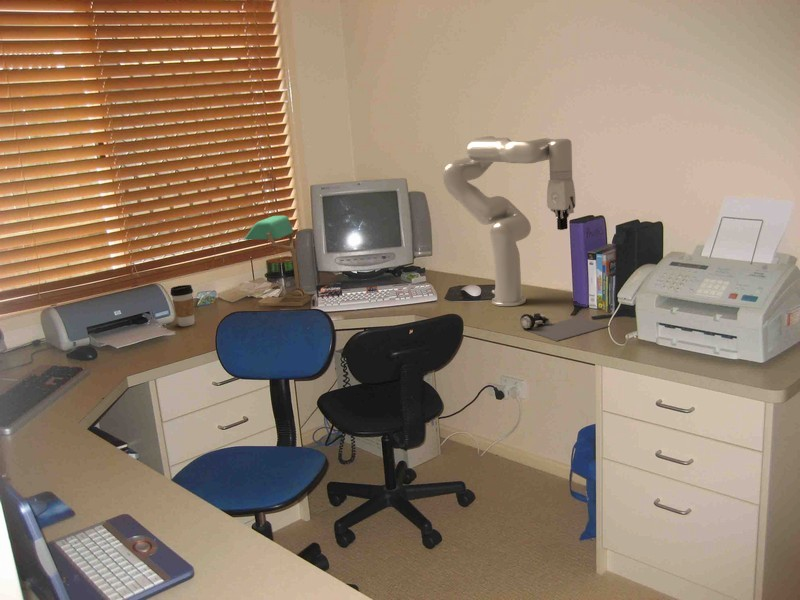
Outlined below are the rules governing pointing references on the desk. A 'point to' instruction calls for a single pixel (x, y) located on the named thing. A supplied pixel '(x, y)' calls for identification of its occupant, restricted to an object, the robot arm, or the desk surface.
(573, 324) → the mat
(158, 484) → the desk surface
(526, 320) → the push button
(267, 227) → the banker's lamp
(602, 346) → the desk surface
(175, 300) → the coffee cup
